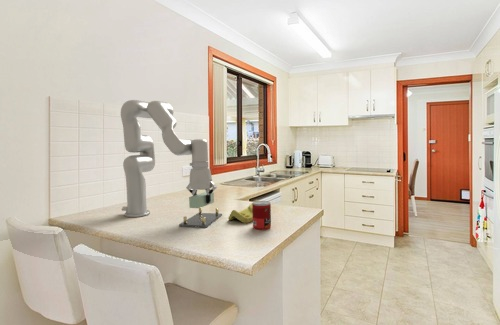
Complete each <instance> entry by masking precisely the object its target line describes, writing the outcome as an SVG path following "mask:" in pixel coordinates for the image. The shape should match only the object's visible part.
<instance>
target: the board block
mask: <svg viewBox="0 0 500 325" xmlns="http://www.w3.org/2000/svg"><path fill="white" fill-rule="evenodd" d="M206 195H207V193H206V191H204V192H201V193H198V194H197V195H194V196H193V195H191V196H189V197H188V198H189V199H188V202H189V205H188V206H189V209H199V208H204V207H206V206H209V205H211V204H214V203H215V195H214V191H213V192H212V193H211V194H210V195H211V201H210V203H208V204H207V203H206Z"/></svg>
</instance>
